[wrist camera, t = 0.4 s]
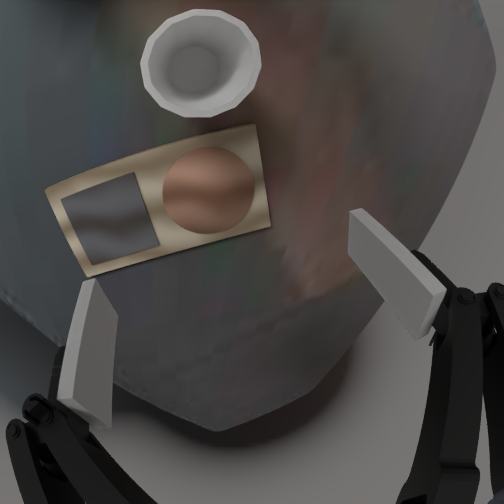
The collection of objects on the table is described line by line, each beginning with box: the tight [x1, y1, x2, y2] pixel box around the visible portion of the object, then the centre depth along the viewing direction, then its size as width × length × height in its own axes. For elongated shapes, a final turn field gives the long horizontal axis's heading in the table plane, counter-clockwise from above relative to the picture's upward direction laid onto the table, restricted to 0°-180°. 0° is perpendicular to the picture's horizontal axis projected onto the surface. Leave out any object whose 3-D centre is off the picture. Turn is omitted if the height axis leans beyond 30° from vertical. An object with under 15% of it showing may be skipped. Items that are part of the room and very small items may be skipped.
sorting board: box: [45, 123, 271, 277], centre depth 37 cm, size 15×29×1 cm, turn 100°
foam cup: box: [140, 9, 262, 117], centre depth 24 cm, size 10×9×13 cm
